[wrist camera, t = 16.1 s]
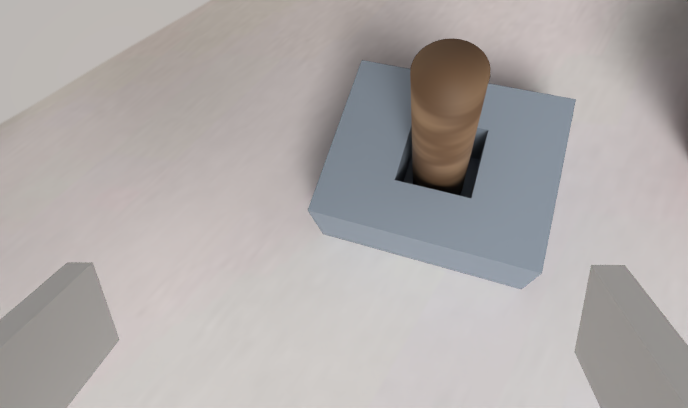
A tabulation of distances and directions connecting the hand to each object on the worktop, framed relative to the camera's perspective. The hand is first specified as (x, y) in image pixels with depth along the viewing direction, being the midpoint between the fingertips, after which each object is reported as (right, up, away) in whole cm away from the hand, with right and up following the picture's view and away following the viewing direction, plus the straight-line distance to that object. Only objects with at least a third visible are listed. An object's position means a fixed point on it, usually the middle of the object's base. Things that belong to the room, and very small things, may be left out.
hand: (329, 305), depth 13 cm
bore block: (+8, +4, +26) cm, 28 cm away
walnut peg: (+8, +4, +25) cm, 27 cm away
